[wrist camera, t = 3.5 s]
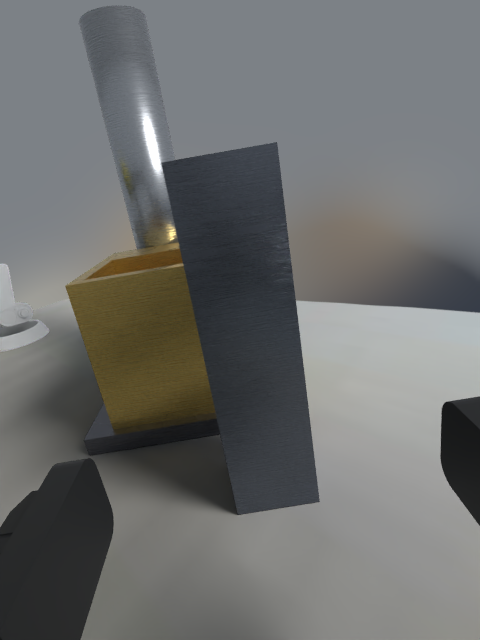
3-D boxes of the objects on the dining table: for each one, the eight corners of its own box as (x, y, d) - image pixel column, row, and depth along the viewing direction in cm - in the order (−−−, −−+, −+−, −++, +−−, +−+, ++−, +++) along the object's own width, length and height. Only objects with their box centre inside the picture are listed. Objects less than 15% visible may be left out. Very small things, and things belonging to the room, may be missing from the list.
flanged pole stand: (145, 340, 43) (67, 56, 33) (242, 324, 42) (192, 34, 33) (89, 455, 25) (-111, -87, 15) (257, 428, 25) (157, -137, 15)
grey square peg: (235, 458, 22) (174, 166, 17) (303, 447, 22) (264, 150, 17) (237, 514, 19) (161, 162, 13) (319, 501, 19) (276, 142, 13)
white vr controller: (31, 285, 58) (37, 260, 53) (49, 358, 55) (57, 339, 50) (-29, 289, 53) (-29, 262, 48) (-13, 369, 50) (-11, 349, 45)
